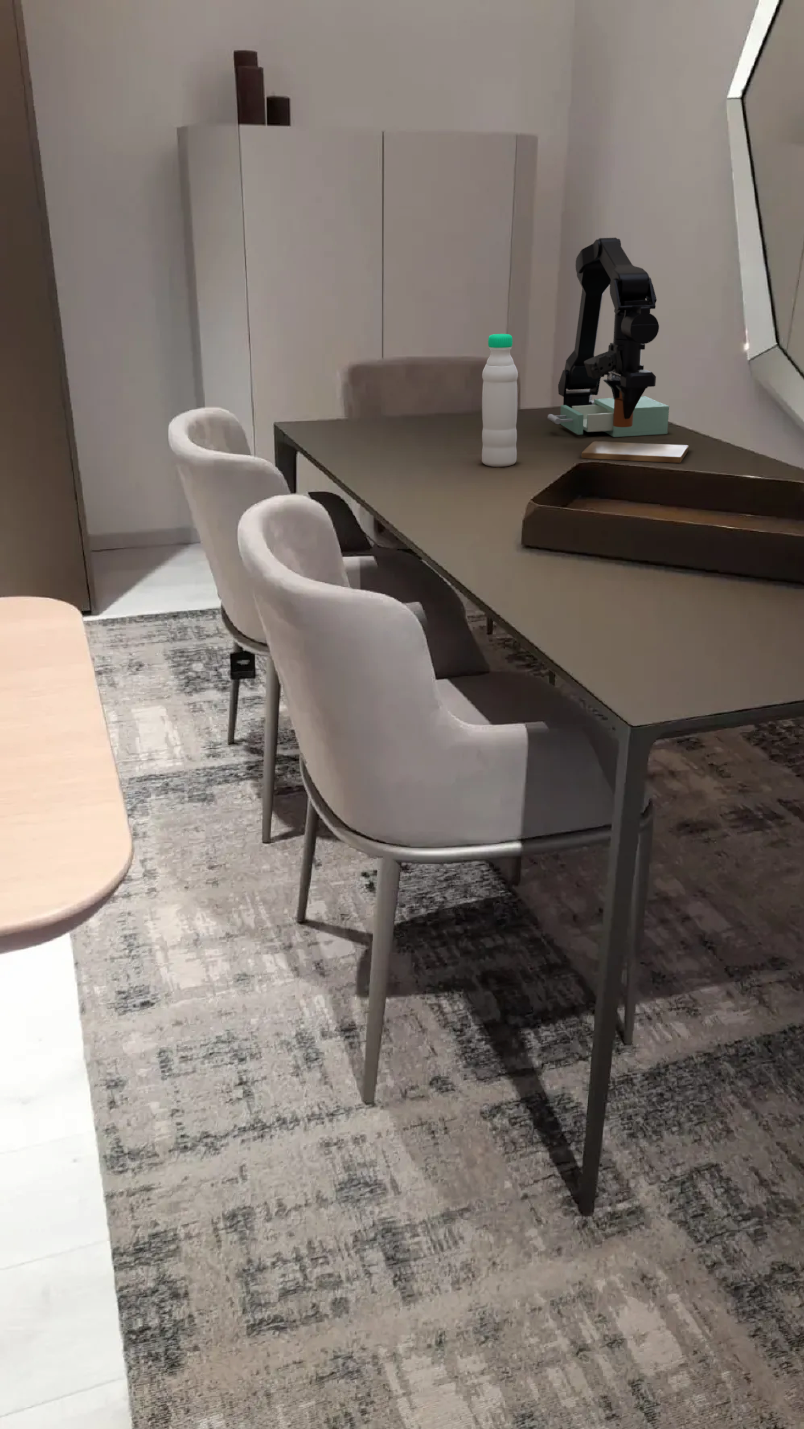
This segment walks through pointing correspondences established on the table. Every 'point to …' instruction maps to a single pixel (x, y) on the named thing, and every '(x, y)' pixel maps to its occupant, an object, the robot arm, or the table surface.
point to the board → (635, 452)
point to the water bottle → (499, 404)
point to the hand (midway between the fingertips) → (623, 416)
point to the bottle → (620, 414)
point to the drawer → (584, 418)
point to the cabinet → (641, 417)
